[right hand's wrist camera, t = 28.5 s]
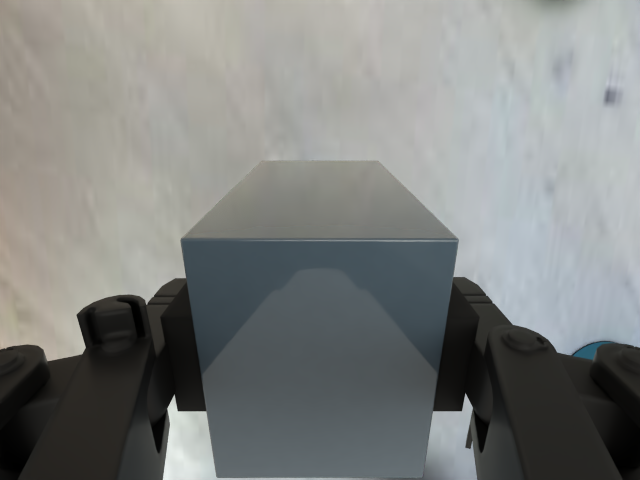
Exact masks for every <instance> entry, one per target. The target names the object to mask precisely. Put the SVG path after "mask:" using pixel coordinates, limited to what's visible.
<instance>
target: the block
mask: <svg viewBox="0 0 640 480" xmlns="http://www.w3.org/2000/svg"><path fill="white" fill-rule="evenodd" d="M458 242H459V240H458V238H457V237H456V236H455V235H454V234H453V233H452V232H451V231H450V230H449V229H448V228H447V227H446V226H445V225H444V224H443V223H442V222H441V221H440V220H439V219H437V218H436V217H435V216H434V215H433V214H432V213H431V212H430V211H429V210H428V209H427V208H426V207H425V206H424V205H423V204H422V203H421V202H420V201H419V200H418V199H417V198H416V197H415V196H414V195H413V194H412V193H411V192H410V191H409V190H408V189H407V188H406V187H405V186H404V185H403V184H402V183H401V182H399V181H398V180H397V179H396V178H395V177H394V176H393V175H392V174H391V173H390V172H389V171H388V170H387V169H386V168H385V167H384V166H383V165H382V164H381V163H380V162H379V161H261V162H260V163H259V164H258V165H257V166H256V167H255V168H254V169H253V170H252V171H250V172H249V173H248V174H247V175H246V176H245V177H244V178H243V179H242V180H241V181H240V182H239V183H238V184H237V185H236V186H235V187H234V188H233V189H232V190H231V191H230V192H229V193H228V194H227V195H226V196H225V197H224V198H223V199H222V200H220V201H219V202H218V203H217V204H216V205H215V206H214V207H213V208H212V209H211V210H210V211H209V212H208V213H207V214H206V215H205V216H204V217H203V218H202V219H201V220H200V221H199V222H198V223H197V224H196V225H195V226H194V227H193V228H192V229H190V230H189V231H188V232H187V233H186V234H185V235H184V236H183V237H182V238H181V247H182V253H183V260H184V266H185V273H186V280H187V286H188V293H189V299H190V306H191V312H192V319H193V326H194V332H195V339H196V345H197V352H198V359H199V365H200V372H201V378H202V385H203V391H204V398H205V405H206V411H207V418H208V424H209V431H210V437H211V444H212V451H213V457H214V464H215V470H216V477H218V478H422V477H423V473H424V466H425V460H426V453H427V446H428V440H429V433H430V427H431V420H432V413H433V407H434V400H435V394H436V387H437V380H438V374H439V367H440V361H441V354H442V347H443V341H444V334H445V328H446V321H447V315H448V308H449V301H450V295H451V288H452V282H453V275H454V268H455V262H456V255H457V249H458Z"/></svg>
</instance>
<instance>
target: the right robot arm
mask: <svg viewBox="0 0 640 480" xmlns="http://www.w3.org/2000/svg"><path fill="white" fill-rule="evenodd" d="M77 318H78V322H79V325H80V329H81V332H82V336H83V339H84V342H85V346H86V349H85V350H84V352H83V354H82V355H78V356H73V357H68V358H63V359H58V360H52V361H47V359H46V356H45V353H44V350H43V349H42V348H40V347H39V346H35V345H20V346H12V347H8V348H7V349H5V348H4V349H1V350H0V480H163V473H164V465H165V458H166V450H167V442H168V434H169V427H170V422H169V416H168V411H167V408H168V406H169V404H170V402H171V400H172V398H173V396H174V394H175V398H176V404H177V409H178V411H206V405H205V398H204V391H203V385H202V378H201V372H200V365H199V359H198V352H197V345H196V339H195V332H194V326H193V319H192V312H191V306H190V299H189V293H188V286H187V280H186V278H175V279H174V280H172V281H170V282H168V283H167V284H165V285H163V286H162V287H161V288H160V289H159V290H158V292H157V293H156V294H155V295H154V297H152V298H151V300H150V301H149V302H148V304H147V305H146V303H145V300H144V299H143V298H141V297H140V296H135V295H117V296H112V297H108V298H104V299H101V300H99V301H96V302H93V303H92V304H90V305H88V306H86V307H85V308H83V309H82V310H81V311H80V312H79V313H78V314H77ZM465 393H466V395H467V397H468V399H469V401H470V403H471V404H472V406H473V411H472V416H471V420H470V425H469V430H468V435H467V440H466V447H465V448H469V449H470V448H471V444H472V441H473V449H474V457H475V464H476V472H477V480H640V348H639V347H634V346H632V345H627V344H618V343H607V344H602V345H601V346H599V347H598V348H597V349H596V352H595V355H594V358H593V360H591V359H586V358H581V357H575V356H570V355H565V354H561V353H557V352H556V350H555V348H554V346H553V345H552V344H551V343H550V342H549V340H548V339H546V338H545V337H543V336H542V335H540V334H539V333H537V332H534V331H532V330H530V329H527V328H524V327H520V326H515V325H512V323H511V322H510V321H509V320H508V319H507V318H506V317H505V315H504V314H503V313H502V312H501V311H500V310H499V309H498V307H497V306H496V305H495V304H493V303H492V301H491V299H490V298H489V297H488V296H486V294H485V293H484V291H483V290H482V289H481V288H480V287H479V286H478V285H477V284H475V283H474V282H472V281H470V280H468V279H467V278H465V277H453V282H452V288H451V295H450V301H449V308H448V315H447V321H446V328H445V334H444V341H443V347H442V354H441V361H440V367H439V374H438V380H437V387H436V394H435V400H434V407H433V411H462V408H463V402H464V397H465Z"/></svg>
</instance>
